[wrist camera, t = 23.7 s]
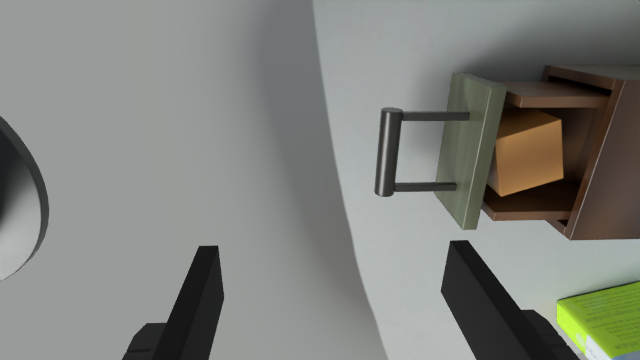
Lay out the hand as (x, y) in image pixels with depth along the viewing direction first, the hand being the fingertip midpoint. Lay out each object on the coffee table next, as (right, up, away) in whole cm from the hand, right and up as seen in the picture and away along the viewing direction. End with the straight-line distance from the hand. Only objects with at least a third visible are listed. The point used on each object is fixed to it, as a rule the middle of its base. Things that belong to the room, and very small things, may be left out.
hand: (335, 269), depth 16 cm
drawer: (+14, +8, +18) cm, 24 cm away
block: (+15, +7, +17) cm, 24 cm away
